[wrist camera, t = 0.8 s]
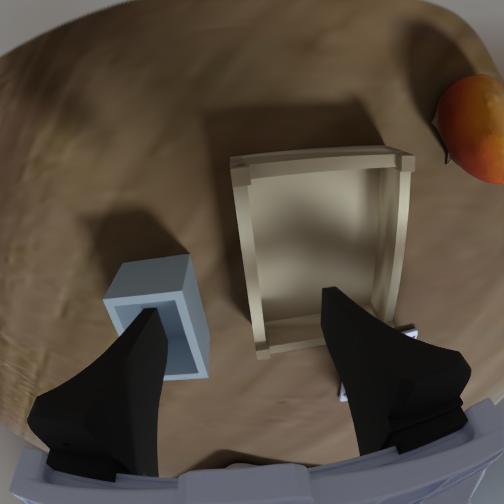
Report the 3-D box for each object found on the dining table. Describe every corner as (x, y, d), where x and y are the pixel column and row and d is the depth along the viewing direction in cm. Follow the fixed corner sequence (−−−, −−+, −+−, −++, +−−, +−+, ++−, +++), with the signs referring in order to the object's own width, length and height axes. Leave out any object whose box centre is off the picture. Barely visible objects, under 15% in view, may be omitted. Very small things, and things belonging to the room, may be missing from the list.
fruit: (399, 127, 18) (503, 101, 10) (423, 76, 19) (501, 51, 12) (448, 209, 21) (537, 206, 13) (465, 148, 22) (537, 138, 15)
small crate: (210, 334, 26) (208, 377, 22) (151, 339, 26) (141, 381, 21) (190, 252, 22) (182, 290, 18) (123, 261, 22) (102, 299, 18)
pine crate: (374, 305, 26) (393, 334, 22) (253, 326, 26) (257, 360, 22) (385, 145, 19) (415, 155, 16) (229, 157, 19) (230, 169, 16)
